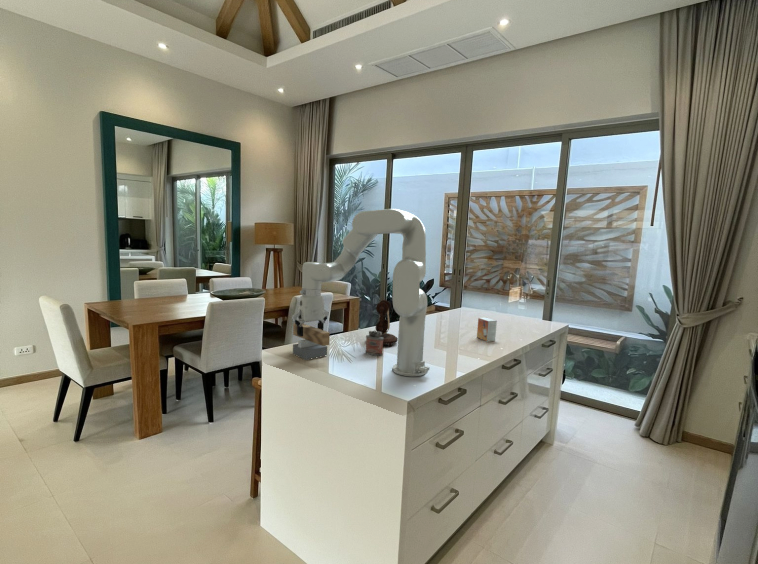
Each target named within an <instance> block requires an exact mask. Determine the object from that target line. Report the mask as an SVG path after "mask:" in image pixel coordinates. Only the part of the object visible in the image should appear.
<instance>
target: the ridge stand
mask: <svg viewBox="0 0 758 564" xmlns="http://www.w3.org/2000/svg"><path fill="white" fill-rule="evenodd" d="M297 342H298V343H294V344H292V354H293V355H294V354H295V355H294V356H296V355H297V357H298V356H299V358H300V357H301V358H300V359H302V358H303V360H305V361H308V359H310V360H312V359H311V358H315V359H317V358H316V357H319V358H321V357H320V356H324V357H326V356H325V355H327V356H328V345H326V346H321V345H319V344H316V343H314V342H311V341H308V340H306V339H301V340H298V341H297Z"/></svg>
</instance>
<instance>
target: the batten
mask: <svg viewBox="0 0 758 564" xmlns="http://www.w3.org/2000/svg"><path fill="white" fill-rule="evenodd" d="M302 326H303V336H299V335H297V325H296V324H295V323H294V322H293V329H292V335H293V336H296V337H299V338H301V339H302V340H308V341H311V342H314V343H316V344H319V345H321V346H330V332H329V331H327V330H324V329H323V330H321V329H318V327H315V326H312V325H308V324H305V323H304V324H303V325H302Z"/></svg>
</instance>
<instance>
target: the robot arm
mask: <svg viewBox="0 0 758 564" xmlns="http://www.w3.org/2000/svg"><path fill="white" fill-rule="evenodd" d="M351 222H352V223H351V226H352V228H351V230H350V231H349V232H348V233H347V235H346V236H344V238H343V239H342V245H343V249H342V251H341V253H340V254H339V256H337V257H336V259H335V260H334V261H333V262H332V261H331V262H324V263H320V262H315V261H306V262H304V263H303V264H302V272H301V273H302V285H301V286H302V287H301V290H299V294H300V298H299V301H298V302H299V303H298V309H297V310H298V311H297V312H295V313H294V314H292V315H291V319H292V321H293V323H295V324H296V325H297V335H299V336H303V326H302V325H303V324H305V322H306V323H309V322H317V328H318V329H321V330H324V325H325V324H326V320H327V319H328V317H329V315H330V312H329V311H327V310H326V309H325V303H324V297H323V295H322V283H332V282H336V281H339V280H342V279H343V278H344V277H346V275H347V274H348V273H349V272H350V270H351V269H353V267H354V266H355V265H356V263H357V261H358V260H359V257H360V255H361V253H362V252H363V251H364V250H365V249H366V248H367V247H368V245H369V244H370V243H372V241H373V240H374V239H375V238H376V236H377V235H385V234H386V235H388V234H397V235H402V237H403V240H402V245H401V246H402V248H401V249H402V252H401V253H402V254H401V255H402V256H401V260H400V261H398V262H397V263H396V264H395V266H394V268H393V273H392V306H393V309H394V311H395V313H396V314H397V315H398V316H399V320H398V322H399V323H398V336H397V338H398V339H397V340H398V341H397V355H396V357H397V359H396V364H394V365H392V372H393V373H394V374H397V375H400V376H405V377H421V376H424V375H426V374H428V373H429V371H430V367H429V366H427V365H425V364H426V362H425V360H423V359H424V345H425V344H424V343H425V326H426V316H427V310H428V296H427V294H426V293H425V291H424V290H423V289H421V288H420V285H421V284H420V283H421V282H422V281H423V280H424V279H425V277H426V275H427V274H426V273H427V270H426V269H427V266H426V263H427V258H426V255H427V251H426V250H427V249H426V247H427V246H426V244H427V243H426V242H427V235H426V228H425V226H424V224H423V222H422V221H421V219H420V218H419V217H418V216H416V215H415V214H413V213H412V212H408V211H407V210H402V209H397V208H385V209H375V210H364V211H359V212H358V213H357V214H356V215H354V217H353V219H352V221H351ZM297 318H298V319H297Z"/></svg>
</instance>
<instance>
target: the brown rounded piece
mask: <svg viewBox="0 0 758 564" xmlns="http://www.w3.org/2000/svg"><path fill="white" fill-rule="evenodd" d="M375 309H376V313H378V314H379V319H378V322H377V323H376V324H375V331H376V332H377V331H378V332H382V335H379V337H383V338H384V339H383V345H389V347H392V345H393V344H396V343H398V336H396V335H394V334H392V333H388V332H389V330H390V326H391V324H390V323H391V322H390V309H391V303H390V301H388V300H385V299H383V300H381V301H380V302H378V303H377V304H376V308H375ZM386 318H387V319H386Z"/></svg>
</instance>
